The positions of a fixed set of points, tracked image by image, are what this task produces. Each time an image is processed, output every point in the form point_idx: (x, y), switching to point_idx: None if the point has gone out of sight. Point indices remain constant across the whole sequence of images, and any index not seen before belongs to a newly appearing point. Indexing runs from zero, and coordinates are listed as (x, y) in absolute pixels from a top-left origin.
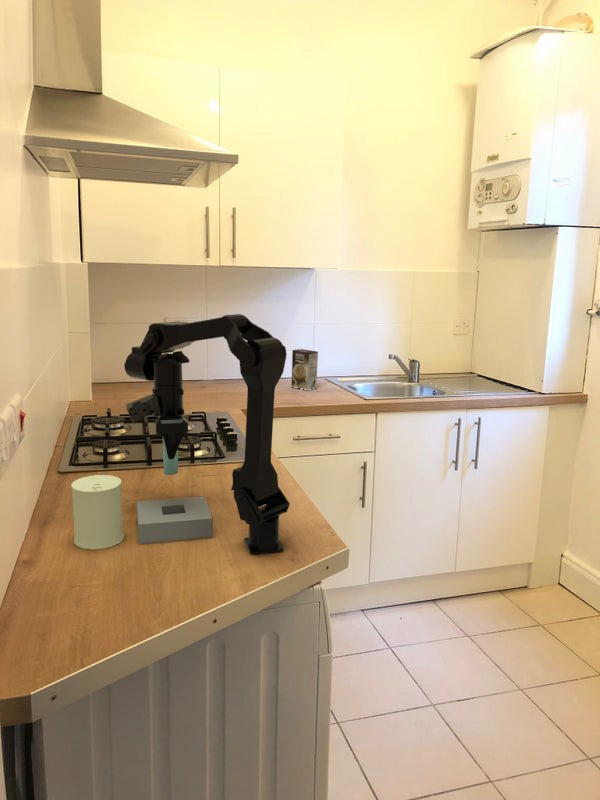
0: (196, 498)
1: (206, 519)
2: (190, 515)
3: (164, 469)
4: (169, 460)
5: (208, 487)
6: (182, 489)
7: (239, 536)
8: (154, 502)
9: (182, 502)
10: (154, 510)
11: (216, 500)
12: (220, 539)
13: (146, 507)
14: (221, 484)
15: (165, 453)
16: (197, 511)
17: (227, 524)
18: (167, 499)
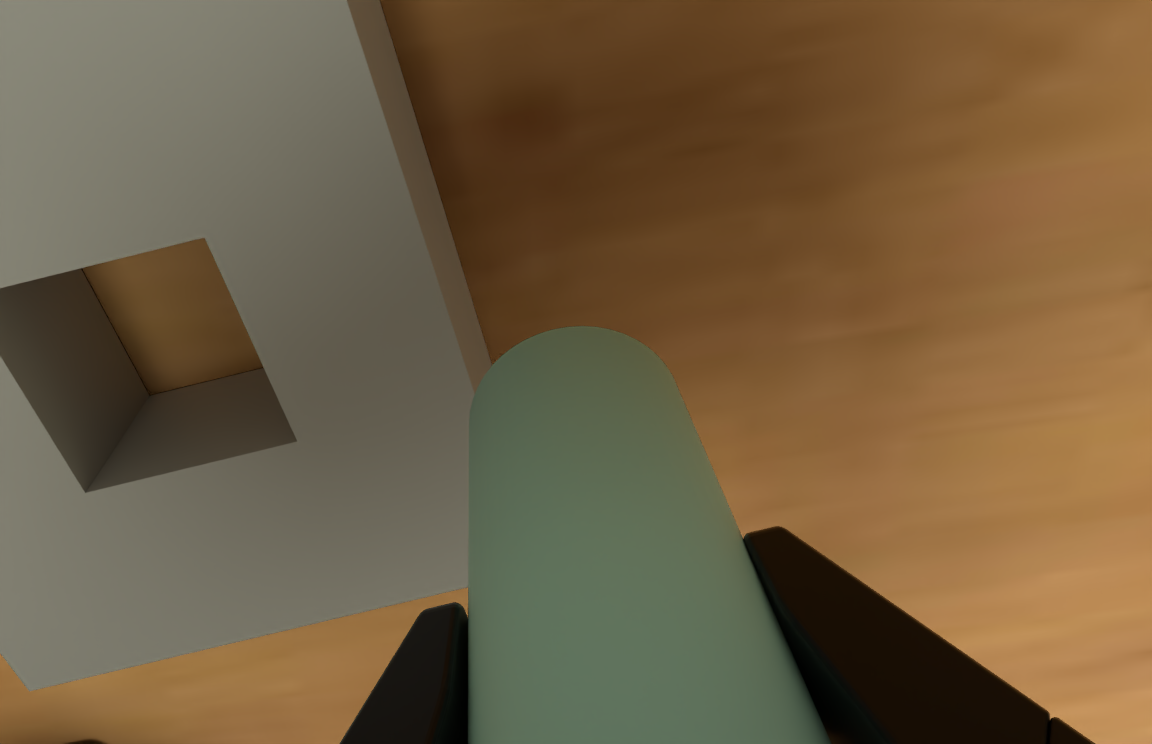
0: None
1: (4, 653)
2: (35, 538)
3: (514, 384)
4: (469, 580)
5: (1102, 418)
6: (1115, 214)
7: (161, 707)
8: (305, 138)
9: (352, 422)
10: (58, 186)
11: (802, 509)
12: None
13: (131, 70)
14: (1141, 499)
15: (492, 616)
16: (151, 573)
17: (345, 627)
18: (418, 265)
